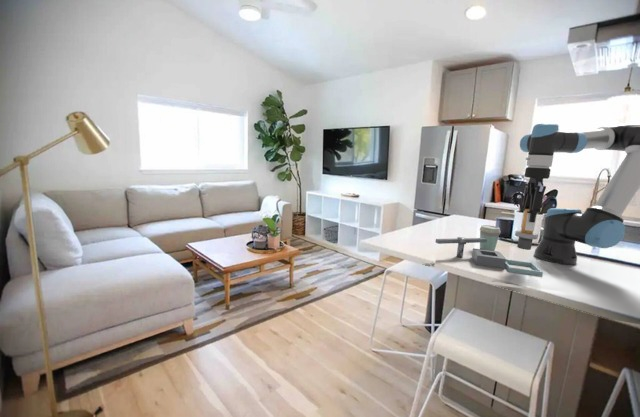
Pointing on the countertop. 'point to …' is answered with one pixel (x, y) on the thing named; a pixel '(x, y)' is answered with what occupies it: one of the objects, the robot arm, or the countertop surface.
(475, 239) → the grey lever handle
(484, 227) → the coffee cup
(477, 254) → the socket block
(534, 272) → the tray
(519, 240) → the tamper
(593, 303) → the countertop surface
